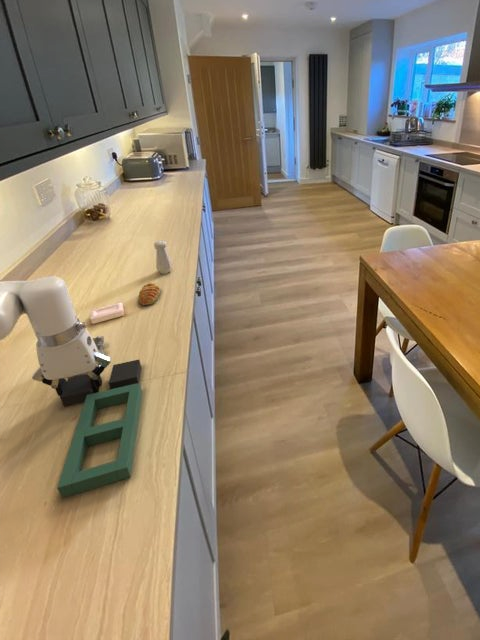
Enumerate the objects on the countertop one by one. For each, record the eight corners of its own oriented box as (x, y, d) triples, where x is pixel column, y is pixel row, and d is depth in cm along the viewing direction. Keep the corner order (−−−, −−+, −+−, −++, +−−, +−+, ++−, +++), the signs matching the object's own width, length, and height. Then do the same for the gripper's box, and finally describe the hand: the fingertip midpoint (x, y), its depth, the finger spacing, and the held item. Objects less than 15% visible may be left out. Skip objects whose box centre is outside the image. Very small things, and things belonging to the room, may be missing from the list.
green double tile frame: (62, 498, 57) (56, 488, 56) (90, 404, 74) (86, 394, 73) (130, 477, 60) (127, 467, 59) (142, 391, 77) (139, 382, 76)
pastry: (158, 304, 109) (156, 295, 108) (136, 308, 108) (134, 298, 106) (161, 290, 118) (159, 281, 116) (141, 293, 116) (138, 283, 114)
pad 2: (111, 392, 77) (108, 383, 76) (115, 373, 82) (113, 364, 81) (139, 385, 79) (136, 376, 78) (141, 367, 84) (139, 359, 83)
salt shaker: (159, 276, 126) (153, 246, 121) (155, 270, 130) (149, 241, 125) (174, 272, 129) (169, 242, 124) (170, 266, 134) (165, 237, 128)
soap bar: (124, 316, 104) (122, 309, 103) (91, 325, 99) (89, 318, 98) (123, 307, 108) (121, 301, 107) (91, 315, 104) (89, 309, 103)
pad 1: (63, 407, 73) (59, 397, 72) (71, 386, 79) (68, 377, 77) (93, 400, 75) (90, 390, 74) (99, 380, 80) (96, 371, 79)
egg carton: (77, 349, 90) (73, 338, 88) (107, 342, 93) (104, 330, 91) (69, 377, 81) (64, 365, 79) (103, 368, 84) (99, 356, 82)
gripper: (107, 313, 75) (124, 371, 82) (18, 328, 70) (45, 388, 77) (100, 334, 69) (119, 394, 76) (2, 352, 64) (32, 415, 71)
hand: (81, 391), depth 77 cm, fingers closed on pad 1, 6 cm apart
